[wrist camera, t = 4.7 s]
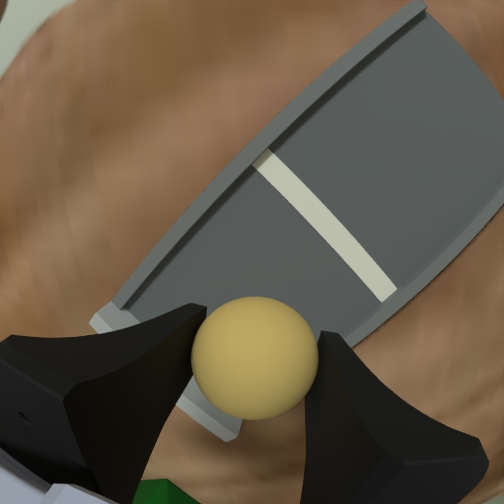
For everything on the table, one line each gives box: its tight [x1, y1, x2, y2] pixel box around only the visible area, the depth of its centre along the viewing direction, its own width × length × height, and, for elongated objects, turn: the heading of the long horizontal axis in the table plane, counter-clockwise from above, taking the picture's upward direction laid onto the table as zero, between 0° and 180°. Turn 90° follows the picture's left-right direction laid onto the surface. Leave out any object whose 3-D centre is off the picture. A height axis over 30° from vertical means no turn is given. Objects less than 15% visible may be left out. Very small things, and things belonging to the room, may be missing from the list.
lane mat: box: [89, 0, 504, 442], centre depth 15 cm, size 12×28×3 cm, turn 136°
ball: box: [191, 297, 318, 420], centre depth 9 cm, size 4×4×4 cm
